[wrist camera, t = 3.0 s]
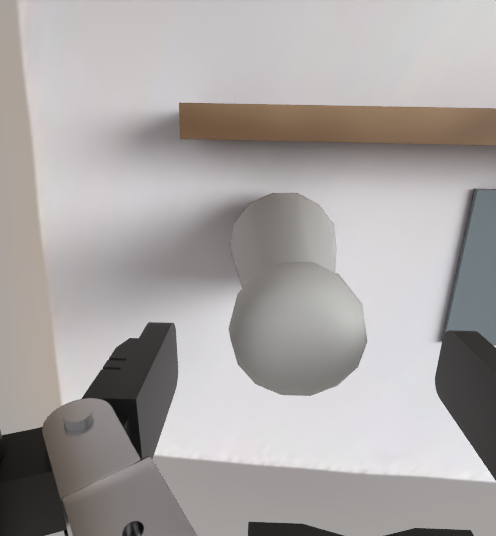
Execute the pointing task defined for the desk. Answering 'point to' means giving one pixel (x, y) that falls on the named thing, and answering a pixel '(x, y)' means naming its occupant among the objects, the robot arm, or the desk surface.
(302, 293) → the salt shaker
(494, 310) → the pad
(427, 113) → the wooden l-shaped bracket
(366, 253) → the desk surface
